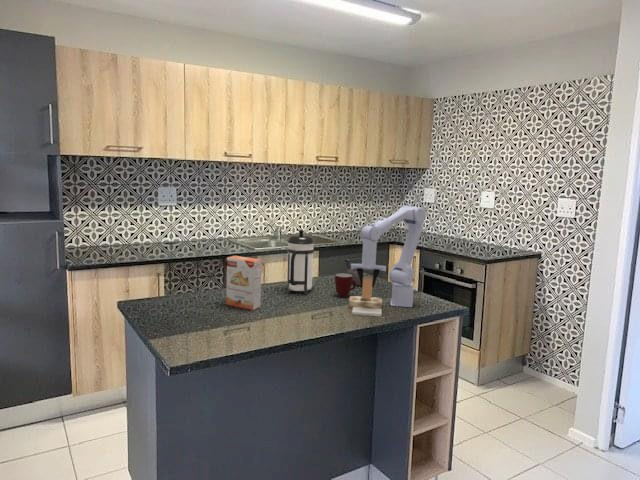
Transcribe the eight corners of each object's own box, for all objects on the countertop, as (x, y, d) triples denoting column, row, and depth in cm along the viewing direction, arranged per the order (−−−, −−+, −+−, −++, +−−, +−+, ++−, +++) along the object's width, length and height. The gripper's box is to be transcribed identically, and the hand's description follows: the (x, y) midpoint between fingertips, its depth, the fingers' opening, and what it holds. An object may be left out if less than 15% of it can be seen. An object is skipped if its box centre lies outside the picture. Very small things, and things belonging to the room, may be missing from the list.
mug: (349, 292, 229) (350, 272, 228) (359, 296, 222) (360, 275, 221) (331, 294, 224) (331, 274, 222) (340, 299, 217) (341, 277, 215)
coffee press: (277, 288, 231) (278, 227, 226) (307, 286, 238) (309, 227, 233) (290, 298, 216) (292, 232, 211) (322, 295, 222) (324, 232, 218)
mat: (381, 311, 200) (381, 309, 200) (381, 316, 193) (381, 314, 193) (353, 309, 202) (353, 307, 202) (352, 314, 195) (352, 312, 195)
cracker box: (225, 305, 201) (225, 257, 198) (234, 302, 206) (235, 254, 203) (252, 311, 195) (253, 261, 191) (261, 307, 200) (262, 258, 197)
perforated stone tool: (368, 287, 241) (369, 274, 240) (359, 288, 238) (360, 274, 237) (352, 280, 254) (353, 268, 253) (344, 281, 251) (345, 268, 250)
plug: (371, 295, 202) (372, 277, 200) (371, 298, 198) (372, 279, 196) (362, 295, 202) (363, 276, 201) (361, 297, 198) (362, 279, 197)
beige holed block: (381, 304, 211) (381, 298, 210) (381, 310, 202) (381, 303, 201) (350, 302, 212) (350, 295, 212) (348, 308, 203) (348, 301, 203)
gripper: (351, 255, 194) (349, 287, 196) (386, 257, 192) (384, 290, 194) (352, 252, 201) (350, 283, 203) (386, 254, 199) (384, 286, 201)
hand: (367, 286), depth 199 cm, fingers closed on plug, 4 cm apart
